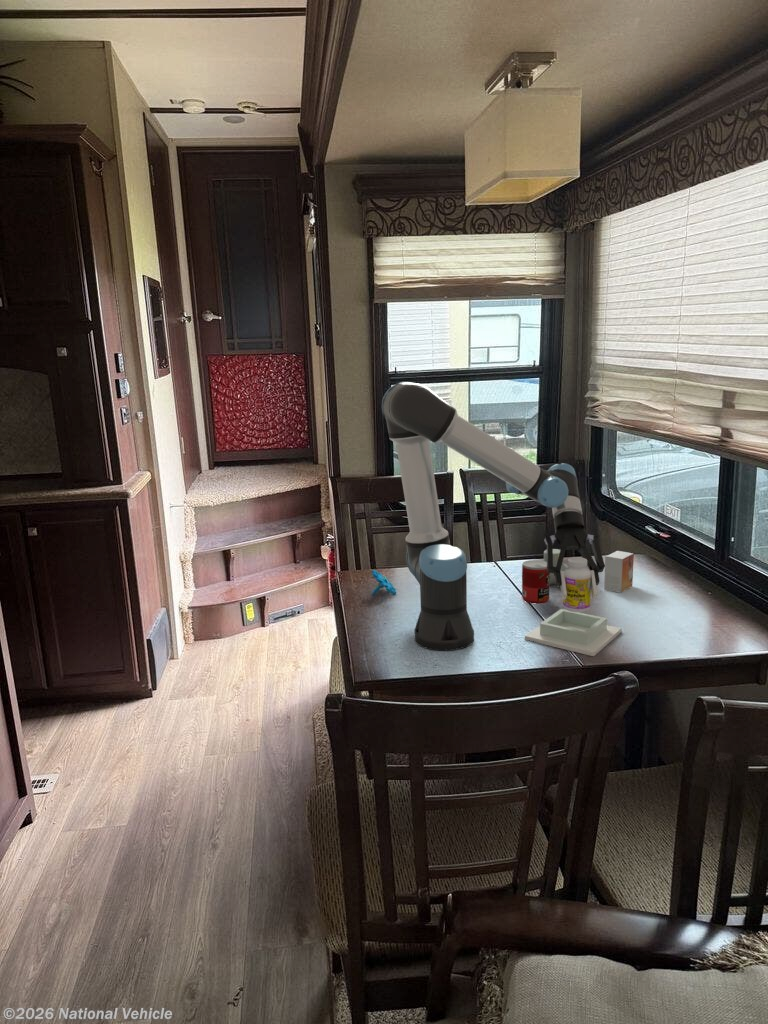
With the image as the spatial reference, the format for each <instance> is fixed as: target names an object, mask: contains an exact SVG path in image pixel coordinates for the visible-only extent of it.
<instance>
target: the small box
mask: <svg viewBox="0 0 768 1024" xmlns="http://www.w3.org/2000/svg"><path fill="white" fill-rule="evenodd" d="M634 556H635V555H634V553H633V552H632V553H631V552H627V551H621V550H616V551H614V552H612V553H610V554H608V555H605V556H604V564H605V567H604V580H603V585H604V588H603V589H604V590H606V589H607V591H611V590H612V592H618V593H624V591H626V590H628V589H630V588H632V587H633V581H634V580H633V579H634V560H635V559H634Z"/></svg>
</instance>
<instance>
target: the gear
mask: <svg viewBox="0 0 768 1024" xmlns="http://www.w3.org/2000/svg"><path fill="white" fill-rule="evenodd" d="M371 574H372V576H373V578H374V579H375V581H376V582H377V583H378V585H377V586H376V587H375V588H374V590H373V591H371V593H372V594H373V595H376V593H377V592H379V590H380V589H383V588H385V590H386V591H387V592H388V593H390V594H391V595H392V596H393V595H396V594H397V593H398V591H397V590H396V587H394V585H393V583H392V582H389V580H388V578H387V577H386V575H383V574H382V573H381V572H378V570H376V569H373V570H372V571H371Z"/></svg>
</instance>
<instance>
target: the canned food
mask: <svg viewBox="0 0 768 1024" xmlns="http://www.w3.org/2000/svg"><path fill="white" fill-rule="evenodd" d="M550 586H551V584H550V573H548V572H547V562H545V561H544V560H539V559H531V560H529V559H528V560H526V561H525V560H524V561H523V562H522V567H521V597H522V598H521V599H522V600H523V601H524V602H525V601H526V603H528V602H529V603H528V604H532V603H536V604H535V605H539V604H542V603H543V604H545V603H547V602H549V601H550Z"/></svg>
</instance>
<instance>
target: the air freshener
mask: <svg viewBox="0 0 768 1024" xmlns="http://www.w3.org/2000/svg"><path fill="white" fill-rule="evenodd" d="M560 550H561V549H560V548H559V549H558V548H553V566H554V567H556V565H557V561H558V557H559V554H560ZM543 561H545V562H547V549H545V550H544V551H543ZM568 567H569V566H568V564H566V563H564V561H563V562H562V566H561V569H560V572H561V571H564V570H565V569H566V568H568ZM550 585H556V579H555V576H554V574H553V573H550Z"/></svg>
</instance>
